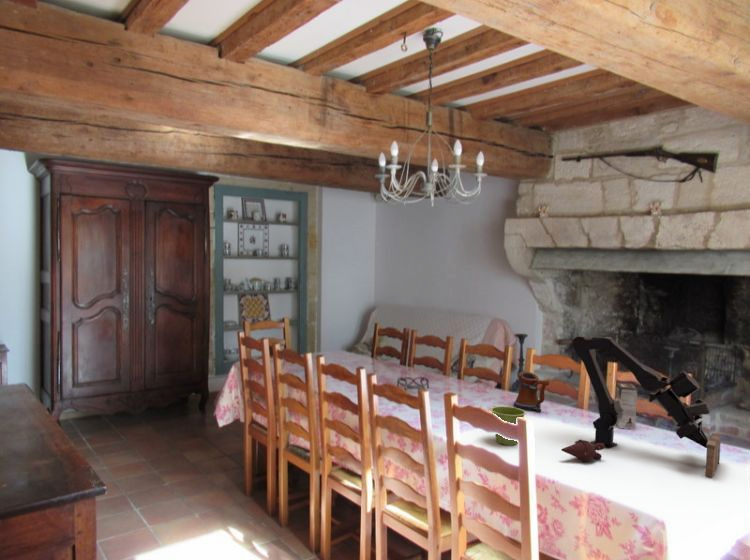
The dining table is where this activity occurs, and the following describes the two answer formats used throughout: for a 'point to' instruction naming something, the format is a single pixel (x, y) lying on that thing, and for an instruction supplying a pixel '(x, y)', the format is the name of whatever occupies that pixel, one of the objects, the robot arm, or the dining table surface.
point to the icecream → (584, 450)
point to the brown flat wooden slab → (712, 454)
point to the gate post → (719, 448)
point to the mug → (530, 392)
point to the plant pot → (509, 416)
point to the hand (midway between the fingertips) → (709, 447)
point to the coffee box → (627, 404)
